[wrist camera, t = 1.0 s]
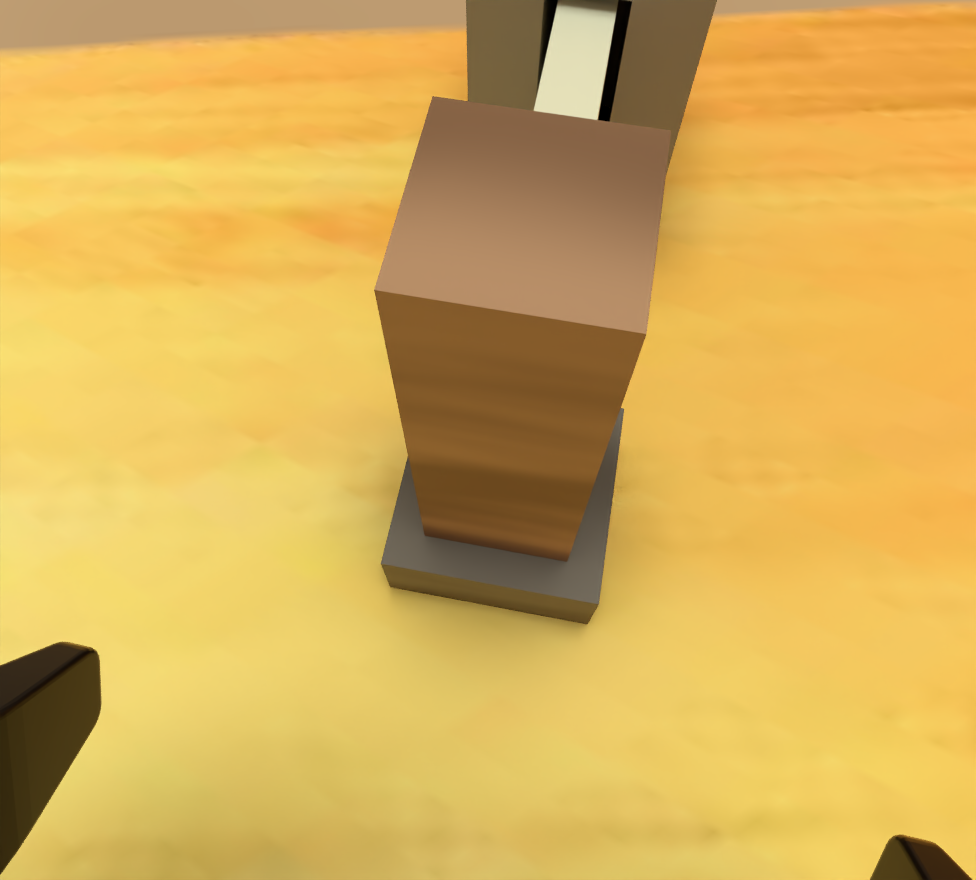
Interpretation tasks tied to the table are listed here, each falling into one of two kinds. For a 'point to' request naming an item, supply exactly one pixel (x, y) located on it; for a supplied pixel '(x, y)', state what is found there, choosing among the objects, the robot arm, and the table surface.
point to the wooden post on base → (516, 348)
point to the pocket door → (577, 58)
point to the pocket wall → (631, 65)
